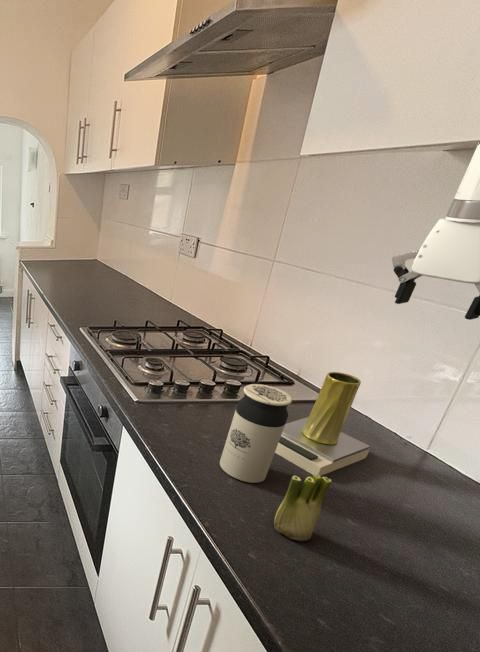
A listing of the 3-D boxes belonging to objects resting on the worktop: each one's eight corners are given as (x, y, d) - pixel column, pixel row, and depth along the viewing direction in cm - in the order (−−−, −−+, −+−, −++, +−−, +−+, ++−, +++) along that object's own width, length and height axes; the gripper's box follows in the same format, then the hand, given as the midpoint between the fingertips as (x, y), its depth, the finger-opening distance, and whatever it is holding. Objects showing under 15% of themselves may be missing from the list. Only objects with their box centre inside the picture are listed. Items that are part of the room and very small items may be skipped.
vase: (300, 425, 93) (322, 368, 87) (335, 433, 90) (360, 375, 84) (303, 439, 88) (327, 380, 82) (340, 448, 85) (367, 387, 79)
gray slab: (307, 419, 96) (308, 416, 96) (368, 449, 86) (370, 446, 86) (272, 430, 92) (273, 427, 92) (332, 463, 82) (334, 459, 82)
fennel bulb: (269, 535, 69) (292, 478, 64) (268, 515, 73) (289, 461, 68) (313, 550, 66) (340, 492, 62) (309, 529, 70) (334, 473, 65)
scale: (305, 428, 98) (309, 416, 96) (365, 458, 87) (371, 446, 86) (258, 443, 92) (262, 431, 91) (317, 477, 82) (322, 464, 81)
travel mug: (246, 457, 88) (272, 382, 80) (274, 483, 81) (305, 403, 73) (210, 458, 87) (233, 383, 80) (235, 485, 80) (262, 405, 73)
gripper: (574, 216, 63) (514, 322, 70) (425, 207, 77) (388, 295, 84) (552, 218, 60) (492, 328, 67) (402, 208, 75) (365, 299, 82)
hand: (434, 310), depth 76 cm, fingers open, 9 cm apart
